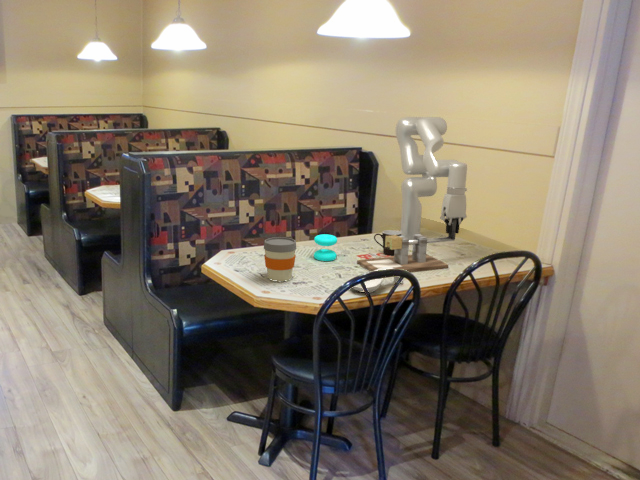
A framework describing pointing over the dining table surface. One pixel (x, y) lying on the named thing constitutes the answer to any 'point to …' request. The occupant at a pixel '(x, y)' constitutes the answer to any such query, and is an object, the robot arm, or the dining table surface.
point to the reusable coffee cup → (279, 257)
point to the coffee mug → (385, 233)
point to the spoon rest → (375, 282)
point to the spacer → (393, 242)
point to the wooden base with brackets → (406, 258)
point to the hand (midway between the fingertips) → (452, 232)
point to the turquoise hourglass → (325, 253)
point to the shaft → (441, 239)
